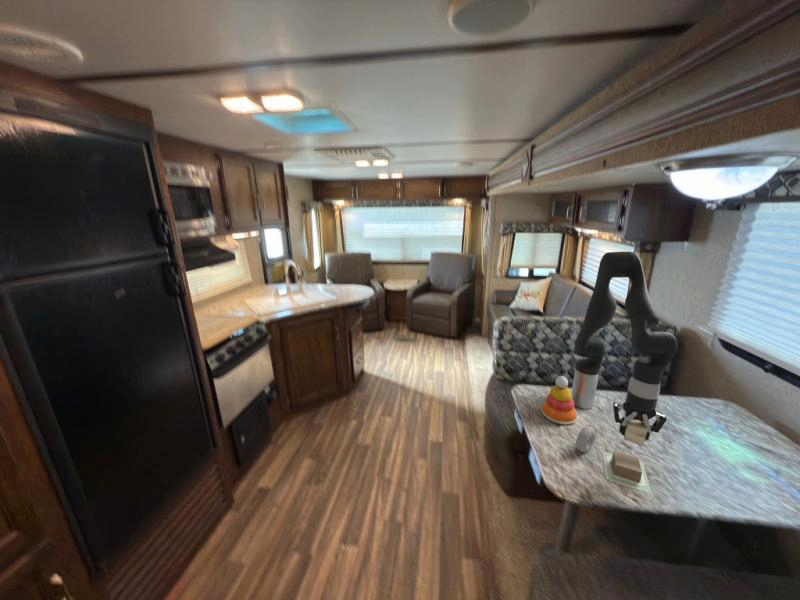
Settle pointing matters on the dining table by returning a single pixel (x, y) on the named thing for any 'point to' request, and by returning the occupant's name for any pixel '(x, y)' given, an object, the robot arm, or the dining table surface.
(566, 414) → the stacking toy
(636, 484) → the build board
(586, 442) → the donut
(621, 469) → the walnut block
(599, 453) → the dining table surface
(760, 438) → the dining table surface
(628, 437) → the maple block
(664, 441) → the dining table surface
